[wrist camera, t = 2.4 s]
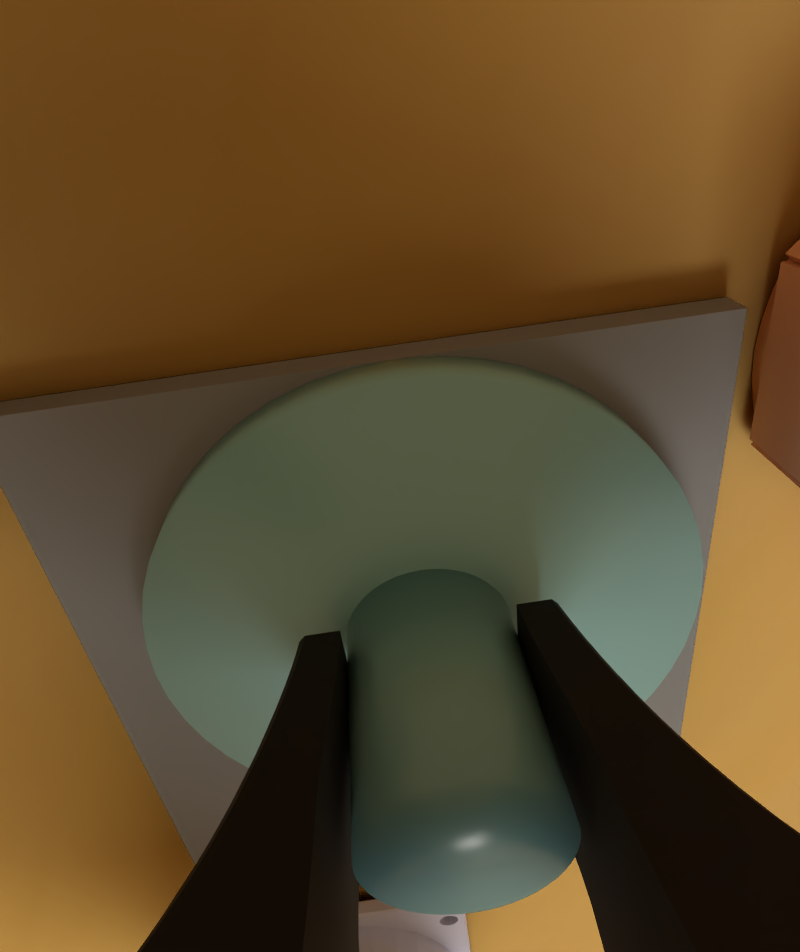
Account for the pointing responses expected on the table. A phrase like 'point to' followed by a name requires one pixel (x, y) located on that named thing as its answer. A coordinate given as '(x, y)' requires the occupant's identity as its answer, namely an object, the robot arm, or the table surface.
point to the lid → (424, 600)
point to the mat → (250, 388)
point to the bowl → (779, 373)
